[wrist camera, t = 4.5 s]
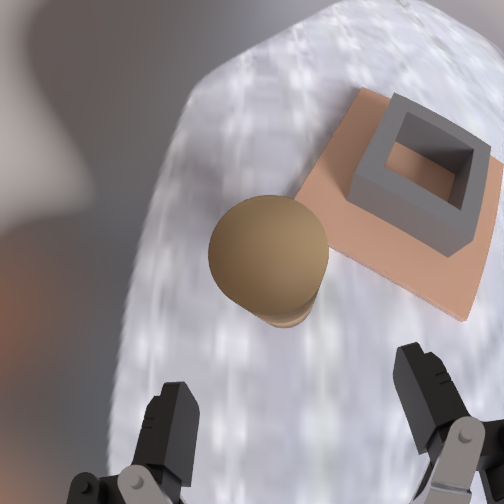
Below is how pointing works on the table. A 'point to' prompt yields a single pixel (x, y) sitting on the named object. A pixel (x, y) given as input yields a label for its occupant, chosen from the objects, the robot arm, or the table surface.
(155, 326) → the table surface
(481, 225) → the holder
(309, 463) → the table surface
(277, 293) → the tan dome-topped cylinder
